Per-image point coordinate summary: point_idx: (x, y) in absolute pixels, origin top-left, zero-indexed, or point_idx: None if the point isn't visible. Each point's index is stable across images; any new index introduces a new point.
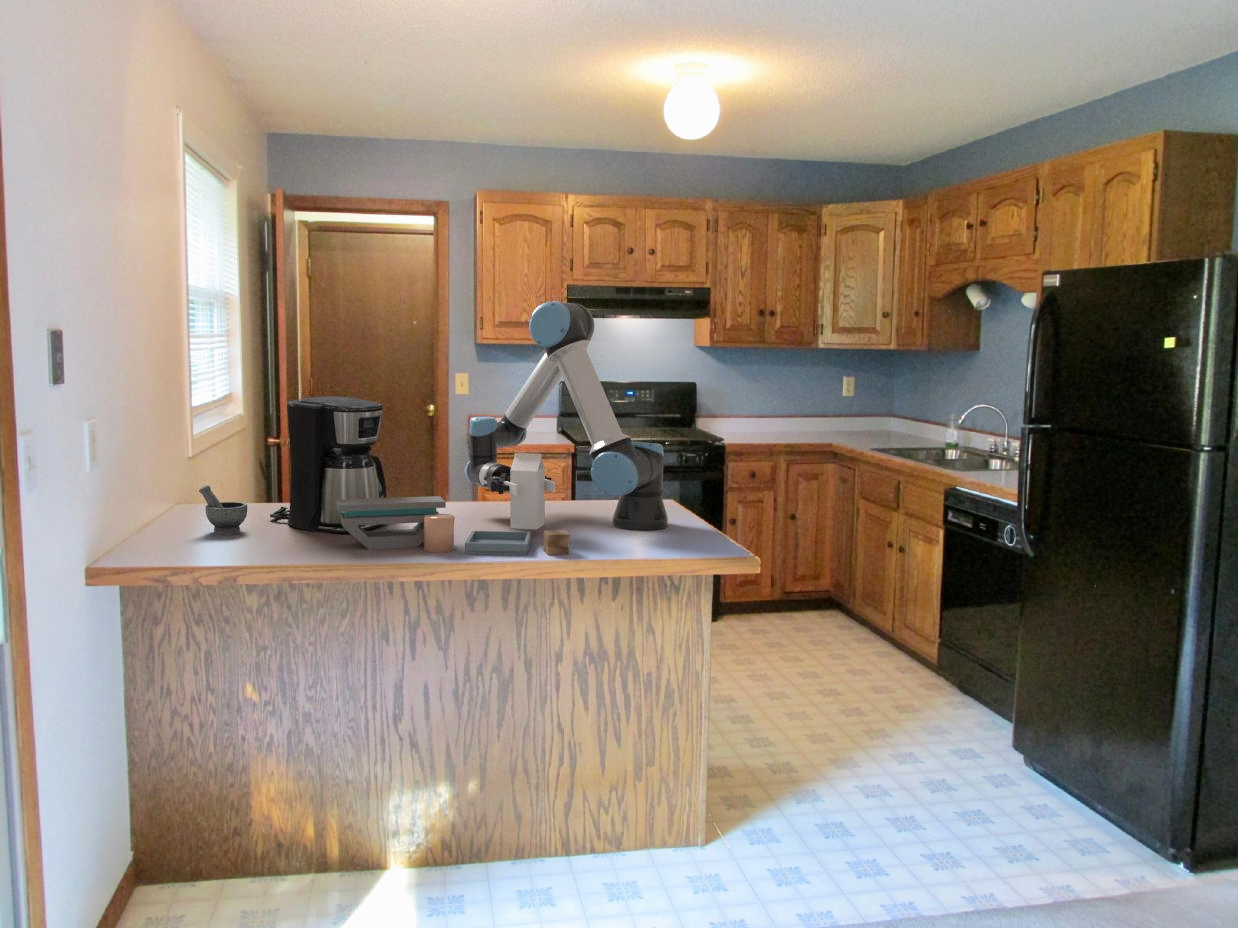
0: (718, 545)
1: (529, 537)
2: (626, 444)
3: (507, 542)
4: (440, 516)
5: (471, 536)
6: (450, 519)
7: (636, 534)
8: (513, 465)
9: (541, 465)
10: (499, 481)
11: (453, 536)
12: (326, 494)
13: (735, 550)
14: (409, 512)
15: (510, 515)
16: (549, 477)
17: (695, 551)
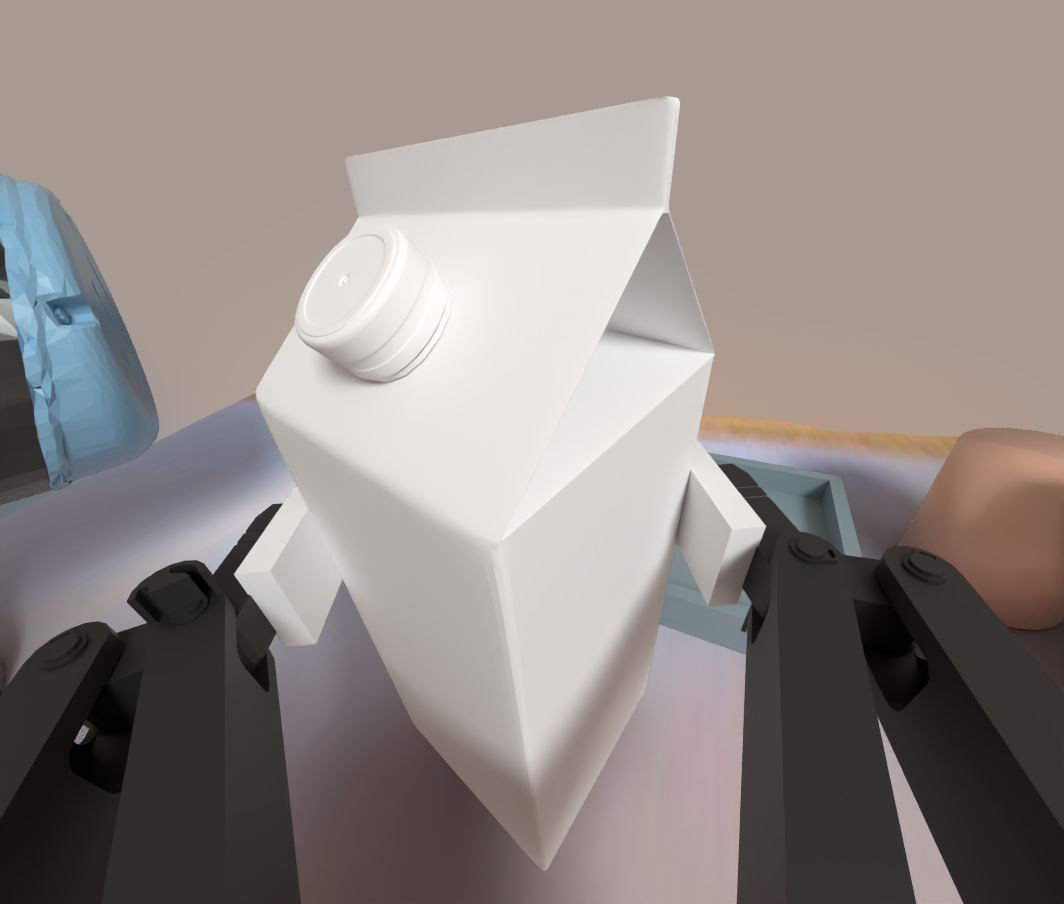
0: (163, 450)
1: None
2: None
3: (677, 554)
4: (1050, 461)
5: (845, 547)
6: (960, 438)
7: (121, 597)
8: (681, 314)
9: (304, 349)
10: (831, 557)
11: (919, 514)
12: None
13: (198, 422)
14: None
15: (653, 648)
16: (55, 647)
17: (265, 428)
